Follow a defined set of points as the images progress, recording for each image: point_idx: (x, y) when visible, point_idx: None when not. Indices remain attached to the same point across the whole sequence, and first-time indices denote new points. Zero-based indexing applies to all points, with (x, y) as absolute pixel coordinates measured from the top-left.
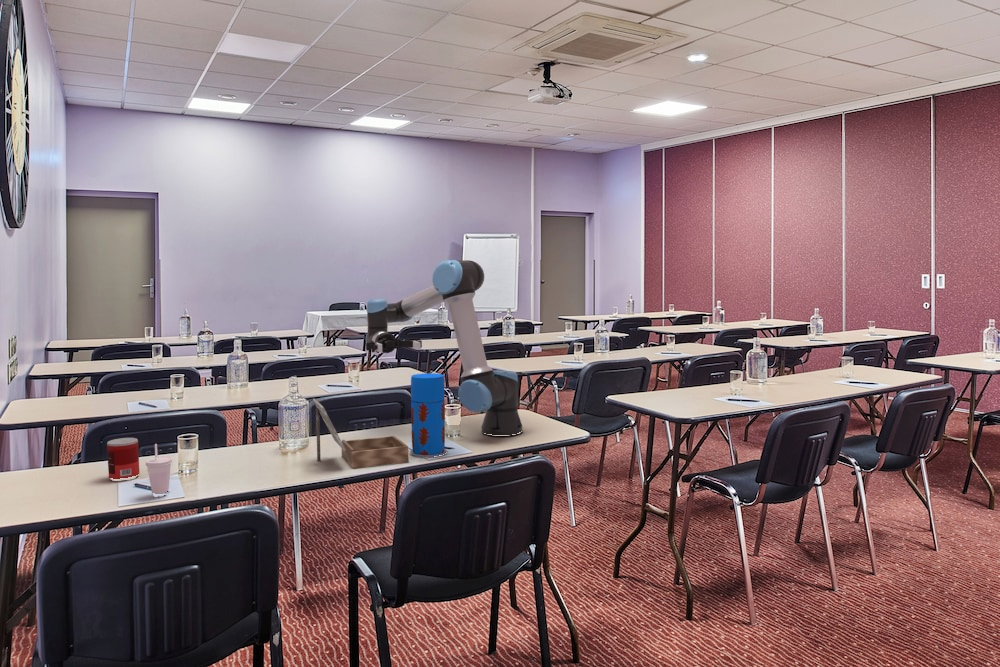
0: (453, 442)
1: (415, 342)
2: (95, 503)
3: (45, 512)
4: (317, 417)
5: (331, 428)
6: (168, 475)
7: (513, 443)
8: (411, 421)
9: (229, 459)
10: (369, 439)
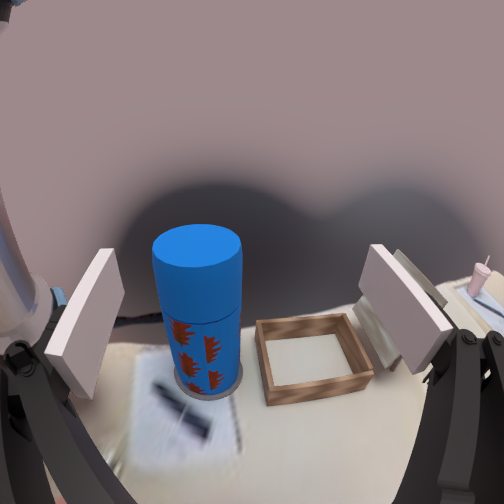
0: (132, 419)
1: (91, 299)
2: (492, 288)
3: (500, 281)
4: None
5: None
6: (472, 278)
7: None
8: (238, 343)
9: None
10: (323, 380)
